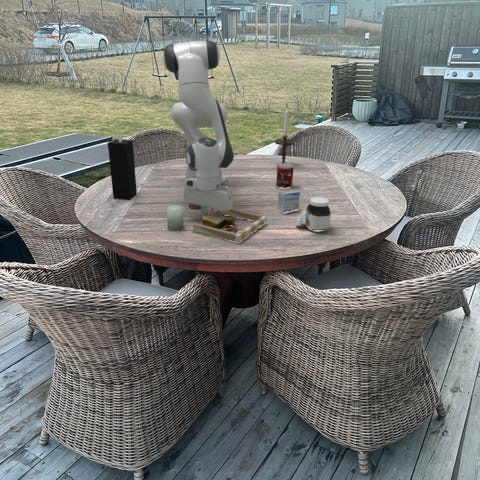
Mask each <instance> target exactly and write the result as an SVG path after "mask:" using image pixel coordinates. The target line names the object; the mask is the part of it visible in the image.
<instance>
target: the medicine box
mask: <svg viewBox="0 0 480 480" xmlns="http://www.w3.org/2000/svg"><path fill="white" fill-rule="evenodd" d="M277 199H278V200H277V210H278V209H279V210H280V211H282V212H286V211H291V210H295V209H299V210H300V199H301V192H300V191H298V190H297V189H287V190H282V191H278V197H277Z"/></svg>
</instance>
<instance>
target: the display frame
mask: <svg viewBox="0 0 480 480" xmlns="http://www.w3.org/2000/svg"><path fill="white" fill-rule="evenodd" d="M222 214H223V215H222ZM221 215H222V216H224V215H229V216H234V217H239V218H244V219H250V220H254V221H255V222H252V223H251V224H250V225H248V226H247V227H245V228H244V229H242V230H240V231H238V233H236V232H233V233H232V232H228V231H224V230H220V229H216V228H212V227H208V226H204V225H201V223H196V222H195V223H194V224H192V233H195V234H199V235H202V234H204V235H203V236H206V235H208V236H207V237H210V236H212V237H211V238H214V237H217V238H216V239H218V238H222V239H227V240H232V241H236V242H240V241H241V240H243V239H244V238H245V237H247V236H248V235H250V234H251V233H252V232H254V231H255V230H256V229H258V228H259V227H260V226H261V225H263V224H264V223H265V222H267V223H268V216H267V215H262V214H257V213H253V212H249V211H244V210H239V209H234V208H231V209H230V210H229V211H222V210H221ZM229 216H228V217H229ZM222 239H221V240H222Z"/></svg>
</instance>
